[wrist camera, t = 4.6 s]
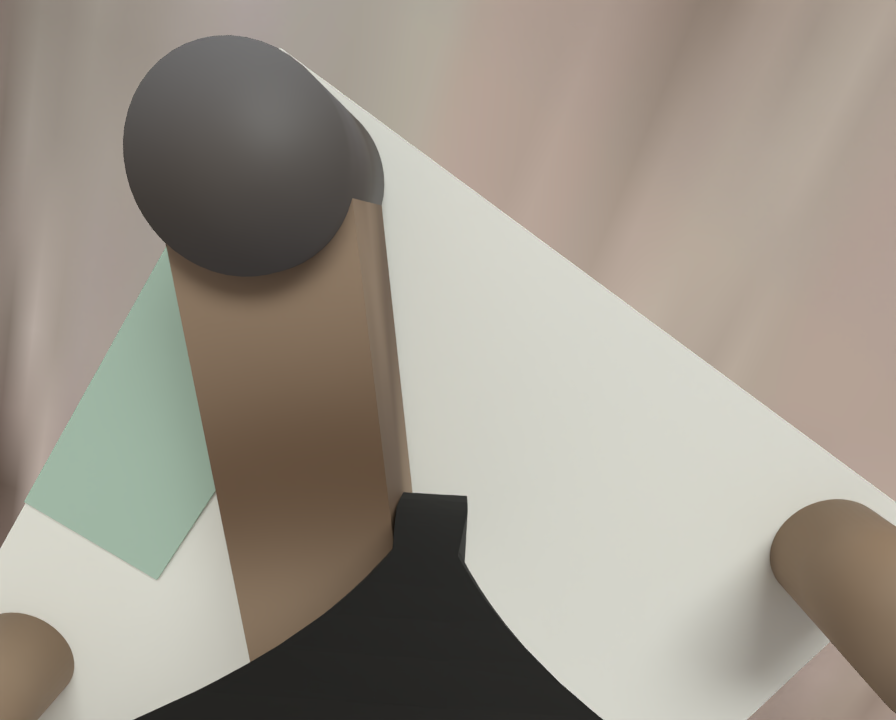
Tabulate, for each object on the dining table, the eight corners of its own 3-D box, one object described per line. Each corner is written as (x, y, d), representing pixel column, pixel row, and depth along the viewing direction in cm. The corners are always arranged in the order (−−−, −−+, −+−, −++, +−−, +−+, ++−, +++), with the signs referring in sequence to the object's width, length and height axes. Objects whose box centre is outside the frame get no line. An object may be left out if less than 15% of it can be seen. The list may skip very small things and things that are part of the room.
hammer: (213, 103, 9) (100, 48, 6) (374, 87, 9) (333, 23, 6) (294, 580, 12) (237, 700, 9) (425, 573, 11) (412, 693, 8)
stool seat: (887, 500, 13) (1109, 645, 8) (482, 898, 16) (489, 1150, 12) (304, 71, 11) (197, -34, 6) (-13, 623, 14) (-225, 799, 10)
